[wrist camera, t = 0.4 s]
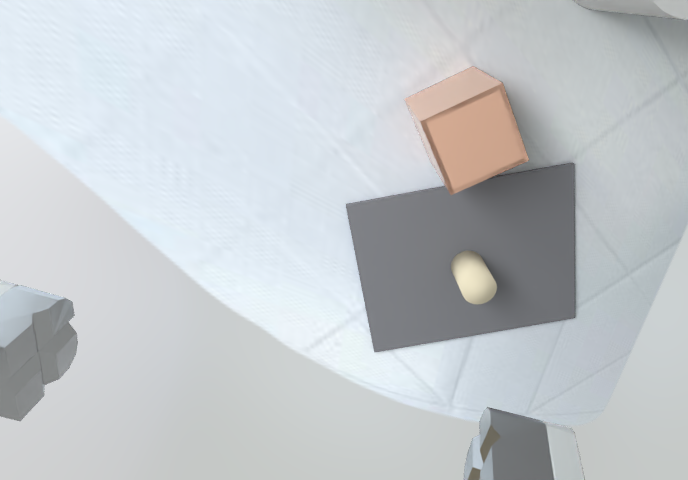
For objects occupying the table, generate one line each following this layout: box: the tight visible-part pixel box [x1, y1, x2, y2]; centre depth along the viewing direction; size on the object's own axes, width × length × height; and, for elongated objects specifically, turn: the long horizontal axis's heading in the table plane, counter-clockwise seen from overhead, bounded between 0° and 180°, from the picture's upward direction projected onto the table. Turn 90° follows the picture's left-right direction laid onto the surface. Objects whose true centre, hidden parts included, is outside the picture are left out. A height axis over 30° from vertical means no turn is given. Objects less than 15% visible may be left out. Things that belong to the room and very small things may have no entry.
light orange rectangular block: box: [404, 66, 529, 195], centre depth 42 cm, size 6×6×8 cm
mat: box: [346, 163, 575, 352], centre depth 50 cm, size 16×20×5 cm
